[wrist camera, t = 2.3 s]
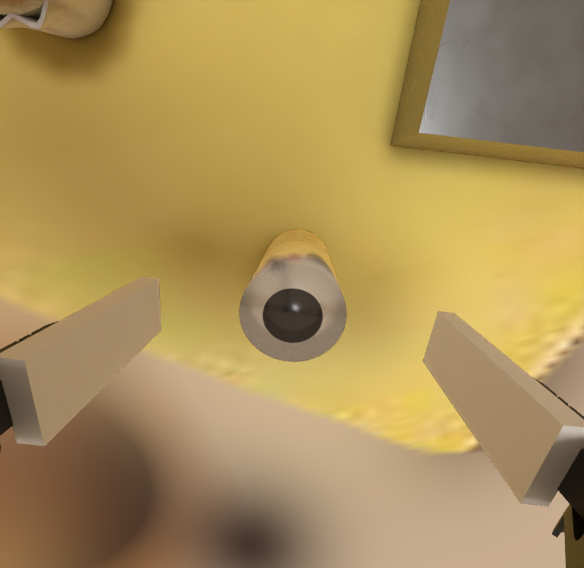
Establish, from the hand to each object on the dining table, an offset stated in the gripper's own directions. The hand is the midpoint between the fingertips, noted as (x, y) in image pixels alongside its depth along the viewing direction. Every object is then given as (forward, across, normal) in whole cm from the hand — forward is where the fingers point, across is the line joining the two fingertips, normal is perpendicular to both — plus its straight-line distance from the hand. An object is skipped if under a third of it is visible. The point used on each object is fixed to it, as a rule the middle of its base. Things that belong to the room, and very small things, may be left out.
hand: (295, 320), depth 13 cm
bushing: (+10, 0, 0) cm, 10 cm away
